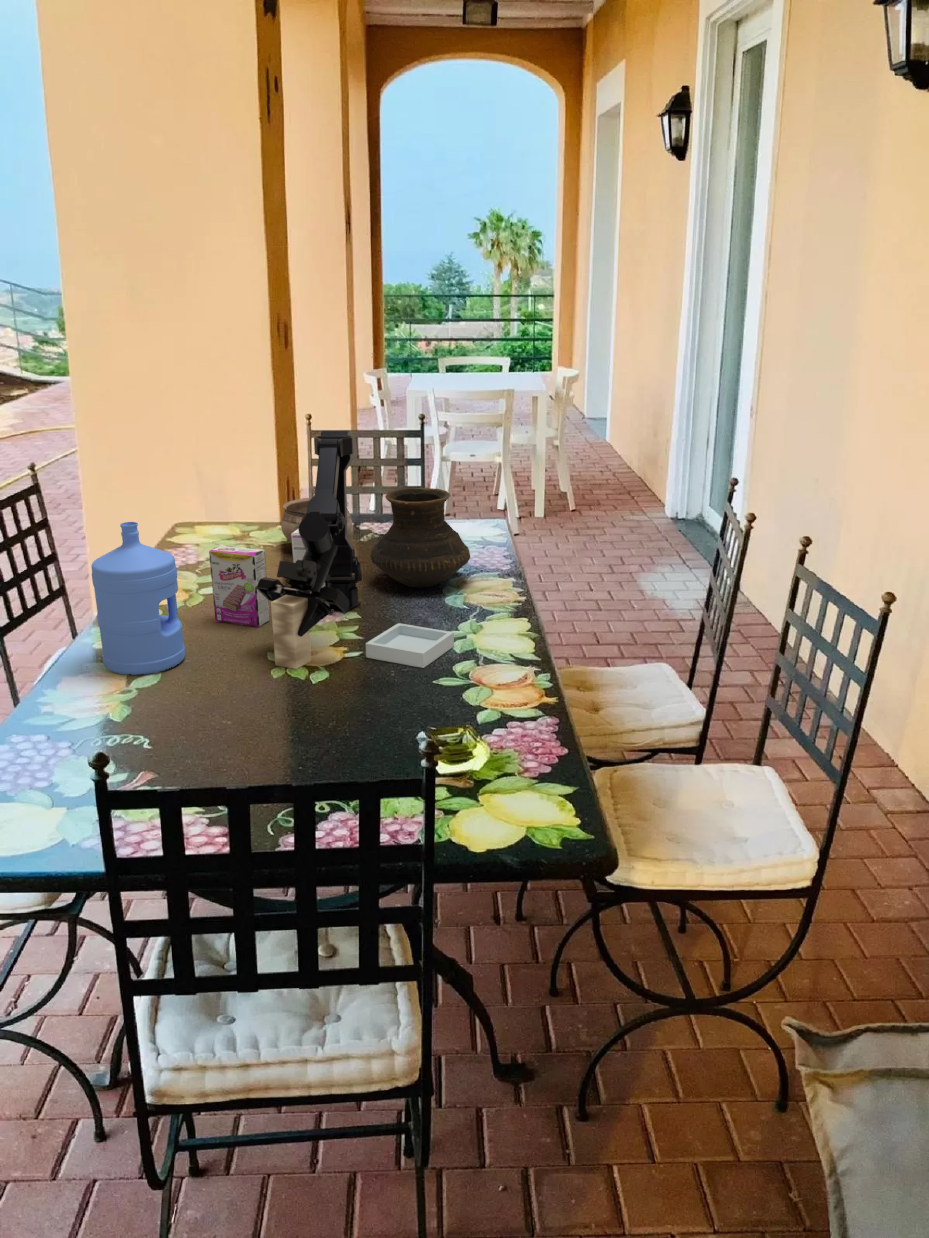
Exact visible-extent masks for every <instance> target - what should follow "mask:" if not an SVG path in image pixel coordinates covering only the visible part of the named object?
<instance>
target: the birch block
mask: <svg viewBox="0 0 929 1238" xmlns="http://www.w3.org/2000/svg"><path fill="white" fill-rule="evenodd" d="M307 607H308V598H303V597H297V596H291V595H285V596H283V597H280V598H278V599H276V600H274V601H270V608H271V609H270V610H271V622H272V623H271V624H272V632H273V633H272V634H273V636H272V637H273V649H274V650H273V651H274V662H275V666H277V667H283V668H289V669H293V670H298V669H299V668H301V667H303V666H305V665H306V664H308V663H310V662H311V661H312V650H311V649H312V647H311V632H310V630H309V631H308V632H306V633H305V634H304V635H303V636H302V637H300V636H299V635H298V631H299V627H300V625H301V622H302V620H303V618H304V615H305V613H306V611H307Z"/></svg>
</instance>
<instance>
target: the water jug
mask: <svg viewBox="0 0 929 1238" xmlns="http://www.w3.org/2000/svg"><path fill="white" fill-rule="evenodd" d="M119 526H120V528H121V532H120V533H121V534H120V535H121V538H122V539H121V540H122V543H121V545H120V546H118V547H116V548H115V549H112V550H111V551H109V552H107V553H105V554H103V555H101V556H99V557H98V558H96V559H95V560H93V561H92V563H91V579H92V580H91V581H92V584H93V585H92V586H93V589H94V597H95V603H96V604H95V605H96V615H97V616H96V617H97V624H98V627H99V633H100V641H101V648H102V663H103V665H104V667H105V668H106V669H107V670H109V671H110V672H112V673H115V674H120V675H125V674H131V675H130V676H138V675H137V674H144V675H151V674H155V672H157V673H160V672H159V671H161V672H164V671H167V670H169V668H170V669H172V668H174V667H175V666H178V665H179V664H180V663H182V662H183V660H184V659H185V657H186V644H185V643H184V642H185V641H184V632H183V624H182V621H181V620H180V619H179V611H178V603H177V601H178V600H177V596H176V595H177V593H178V590H179V584H178V571H177V570H178V569H177V564H176V559H175V556H174V555H173V554H172V553H170V552H168V551H165V550H161V549H159V548H155V547H152V546H150V545H146V544H143V543H141V542H140V537H139V536H140V531H139V529H138V526H139V525H138V522H135V521H127V522H126V521H125V522H122V523H120V525H119ZM164 600H167V601H166V602H167V611H168V612H167V613H168V615H164V614H160V610H159V609H160V608H159V606H160V604H161V602H162V601H164ZM177 664H178V665H177ZM171 667H172V668H171ZM166 669H167V670H166ZM150 673H151V674H150Z"/></svg>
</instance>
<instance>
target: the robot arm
mask: <svg viewBox="0 0 929 1238" xmlns="http://www.w3.org/2000/svg"><path fill="white" fill-rule="evenodd" d="M313 443H314V444H313V445H314V455H316V456H318V459H317V469H316V479H315V480H316V481H315V491H314V495H312V497H310V498H311V499H310V500H309V501H308V505H307V512H306V513H304V515H303V518H302V520H301V523H300V525H299V528H298V529H299V534H300V536H301V539H302V542H303V545H304V547H305V549H306V552H305V554H304V556H303V559H302V560H297V561H296V563H293V562H290V561H284V560H279V563H278V567H277V572H276V577H277V578H271V577H267V578H266V577H264V578H261V579H260V580H259V582H258V585H257V587H256V588H257V589H258V590H259V591H260V592H261V593H262V594H263V595H264V596H265V597H266V598H267V599H268V601H269V602H272V601H274V600H276V599H278V598H280V597H283V596H285V595H291V596H297V597H303V598H308V607H307V611H306V613H305V615H304V618H303V620H302V622H301V625H300V627H299V631H298V635H299V636H300V637H302V636H303V635H304V634H305V633H306V632H308V631H310V630H311V629H312V628H313V627H314V626H315V625H317V624H318V623H319V622H321V621H322V620H324V619H325V618H326V617H328V616H332V615H333V613H337V614H338V613H339V614H344V615H345V614H347V613H348V611H350V610H352V609H354V608H355V607H358V606H359V605H361V603H362V602H361V601H359V590H358V589H359V587H358V586H357V584H358V583H359V582H361V581H363V573H362V571H363V570H362V568H361V562H359V559H358V556H357V555H356V551H355V550H356V549H355V547H354V546H353V543H352V542H351V541H350V539H349V537H347V509H348V506H347V502H348V501H347V500H348V497H347V470H348V469H349V467H350V465H351V463H352V462H353V460H354V453H356V449H357V448H356V447H357V445H356V444H357V443H356V436H355V435H351V432H350V430H321V432H320V435H316V436H314V437H313ZM279 578H284V579H285V582H286V583H287V584H288V585H290V586H285V585H284V584H283V582H281V581H280V580H279ZM324 583H325V586H324V587H322V586H323V584H324Z"/></svg>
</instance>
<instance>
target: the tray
mask: <svg viewBox="0 0 929 1238" xmlns="http://www.w3.org/2000/svg"><path fill="white" fill-rule="evenodd" d="M453 647H455V632H454V631H448V630H444V629H443V630H441V629H436V628H435V629H434V628H430V627H424V626H418V625H412V624H405V623H401V622H398V623H396V624H395V625H393V626H392V627H389V628H388V629H387V630H385V631H382V633H380V634H378V635H377V636H375V637H374V638H372V639H370V640H369V641H367V642H366V643H365V657H366V658H368V659H372V660H377V661H383V662H389V663H393V664H395V663H396V664H399V665H405V666H410V667H414V668H415V667H416V668H422V669H424V668H426V667H427V666H429V665H430V664H431V663H433V662H434V661H435V660H437V659H438V658H440V657H441V656H442V655H444V654H446V652H448V651H449V650H451V649H452V648H453Z"/></svg>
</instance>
